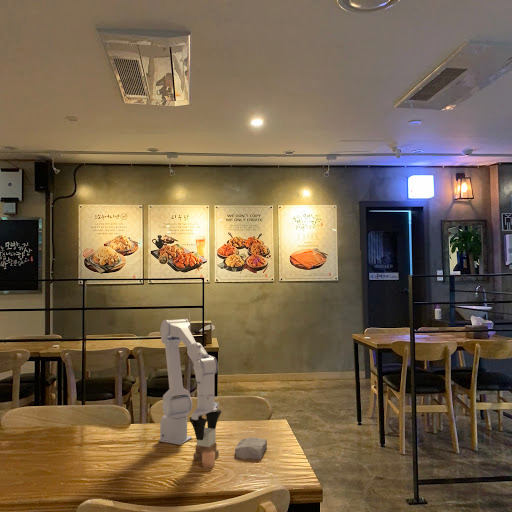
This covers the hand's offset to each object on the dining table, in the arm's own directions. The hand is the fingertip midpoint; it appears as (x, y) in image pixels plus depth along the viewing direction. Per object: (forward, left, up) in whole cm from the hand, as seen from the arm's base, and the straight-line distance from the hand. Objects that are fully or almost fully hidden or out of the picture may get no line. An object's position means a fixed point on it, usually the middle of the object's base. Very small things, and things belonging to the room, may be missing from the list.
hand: (205, 435), depth 148 cm
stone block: (+11, +10, -8) cm, 17 cm away
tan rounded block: (+4, -5, -7) cm, 10 cm away
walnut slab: (0, 0, -8) cm, 8 cm away
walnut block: (0, 0, -5) cm, 5 cm away
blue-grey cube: (0, 0, -3) cm, 3 cm away
